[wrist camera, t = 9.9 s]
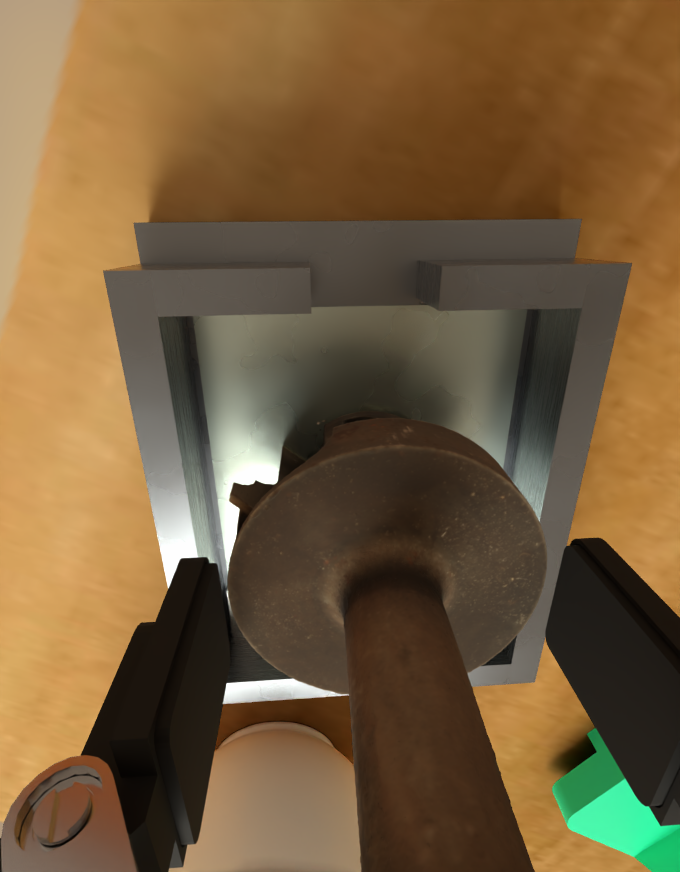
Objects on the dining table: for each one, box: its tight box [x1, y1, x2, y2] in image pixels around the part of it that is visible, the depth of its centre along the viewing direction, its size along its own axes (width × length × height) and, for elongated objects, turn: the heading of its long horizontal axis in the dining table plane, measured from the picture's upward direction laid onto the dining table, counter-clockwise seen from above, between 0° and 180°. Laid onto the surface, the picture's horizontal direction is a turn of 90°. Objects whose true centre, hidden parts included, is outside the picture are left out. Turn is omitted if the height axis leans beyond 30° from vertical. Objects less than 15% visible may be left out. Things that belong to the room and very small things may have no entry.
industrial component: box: [227, 411, 547, 872], centre depth 10 cm, size 9×7×12 cm
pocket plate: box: [103, 219, 632, 704], centre depth 15 cm, size 12×16×4 cm
